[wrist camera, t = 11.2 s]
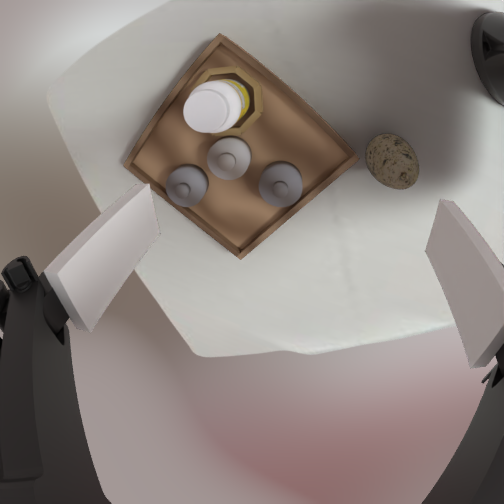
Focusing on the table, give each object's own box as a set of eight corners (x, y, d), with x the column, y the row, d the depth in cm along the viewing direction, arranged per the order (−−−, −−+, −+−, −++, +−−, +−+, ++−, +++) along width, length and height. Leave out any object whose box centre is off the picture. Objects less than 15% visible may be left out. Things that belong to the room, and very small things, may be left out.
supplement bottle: (215, 127, 32) (187, 147, 24) (200, 87, 30) (166, 95, 22) (257, 114, 31) (242, 129, 23) (242, 72, 28) (222, 72, 20)
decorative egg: (374, 179, 35) (396, 215, 27) (351, 143, 32) (369, 169, 24) (410, 157, 32) (441, 188, 24) (388, 120, 30) (418, 138, 22)
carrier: (224, 35, 26) (213, 30, 22) (355, 153, 33) (363, 165, 29) (131, 160, 38) (113, 172, 34) (243, 250, 44) (237, 270, 40)
